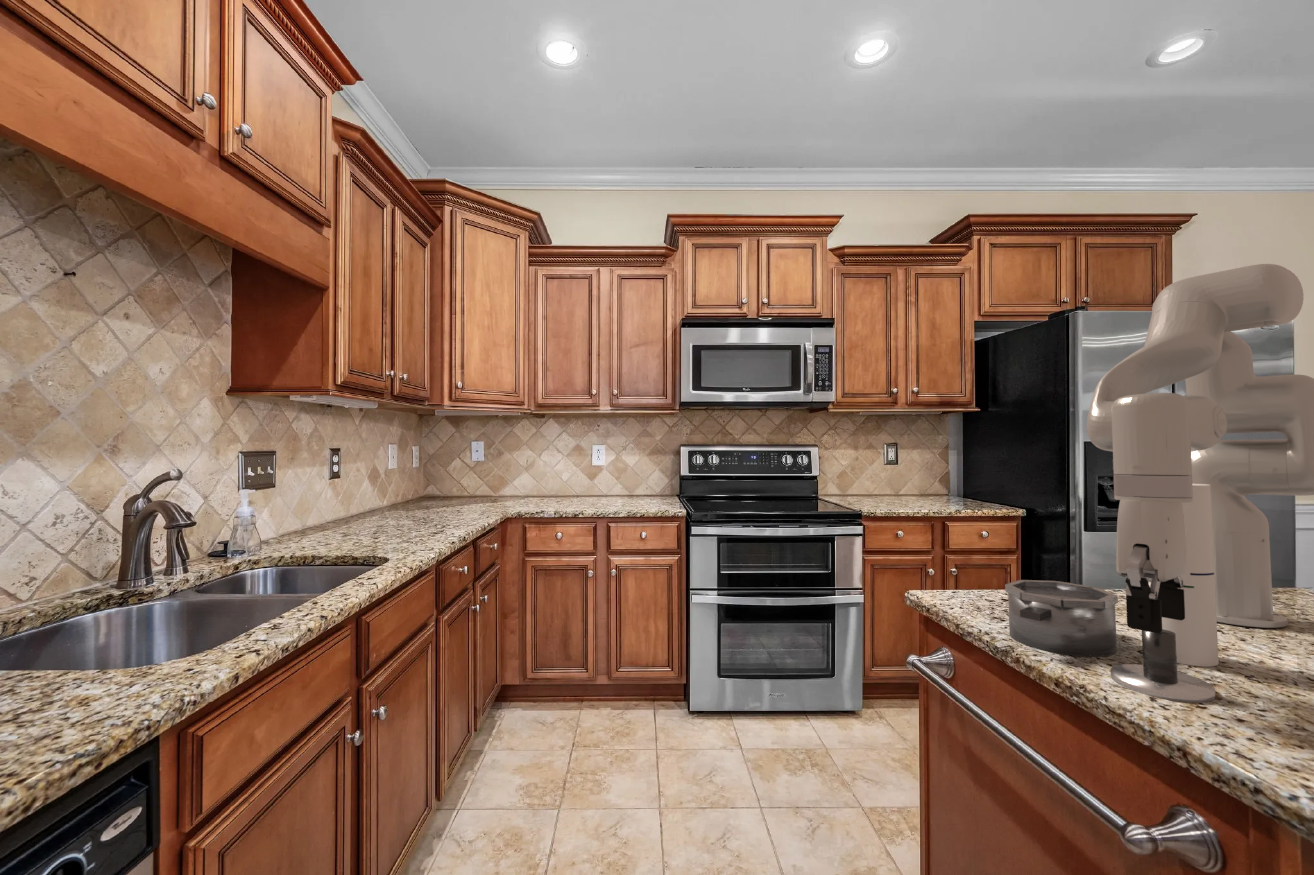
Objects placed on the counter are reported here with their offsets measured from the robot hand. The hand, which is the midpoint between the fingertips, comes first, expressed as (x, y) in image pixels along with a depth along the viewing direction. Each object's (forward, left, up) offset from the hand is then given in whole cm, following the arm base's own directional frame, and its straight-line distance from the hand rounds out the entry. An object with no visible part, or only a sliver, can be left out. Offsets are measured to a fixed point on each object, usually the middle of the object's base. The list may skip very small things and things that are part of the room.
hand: (1156, 623), depth 70 cm
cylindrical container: (-16, -1, -8) cm, 18 cm away
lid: (-1, 0, -8) cm, 8 cm away
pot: (-10, -14, -8) cm, 19 cm away
